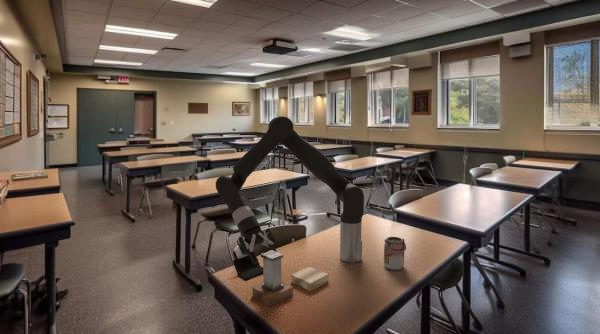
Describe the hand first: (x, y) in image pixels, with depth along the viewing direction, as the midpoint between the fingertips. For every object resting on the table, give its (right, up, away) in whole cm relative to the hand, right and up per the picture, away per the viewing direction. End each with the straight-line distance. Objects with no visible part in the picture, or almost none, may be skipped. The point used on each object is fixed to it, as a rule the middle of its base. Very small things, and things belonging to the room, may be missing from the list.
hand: (266, 259), depth 118 cm
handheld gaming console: (-8, -11, +18) cm, 22 cm away
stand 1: (+2, -13, -1) cm, 13 cm away
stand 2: (+16, -11, +9) cm, 21 cm away
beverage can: (+51, -9, +21) cm, 56 cm away
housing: (+2, -10, -1) cm, 10 cm away
